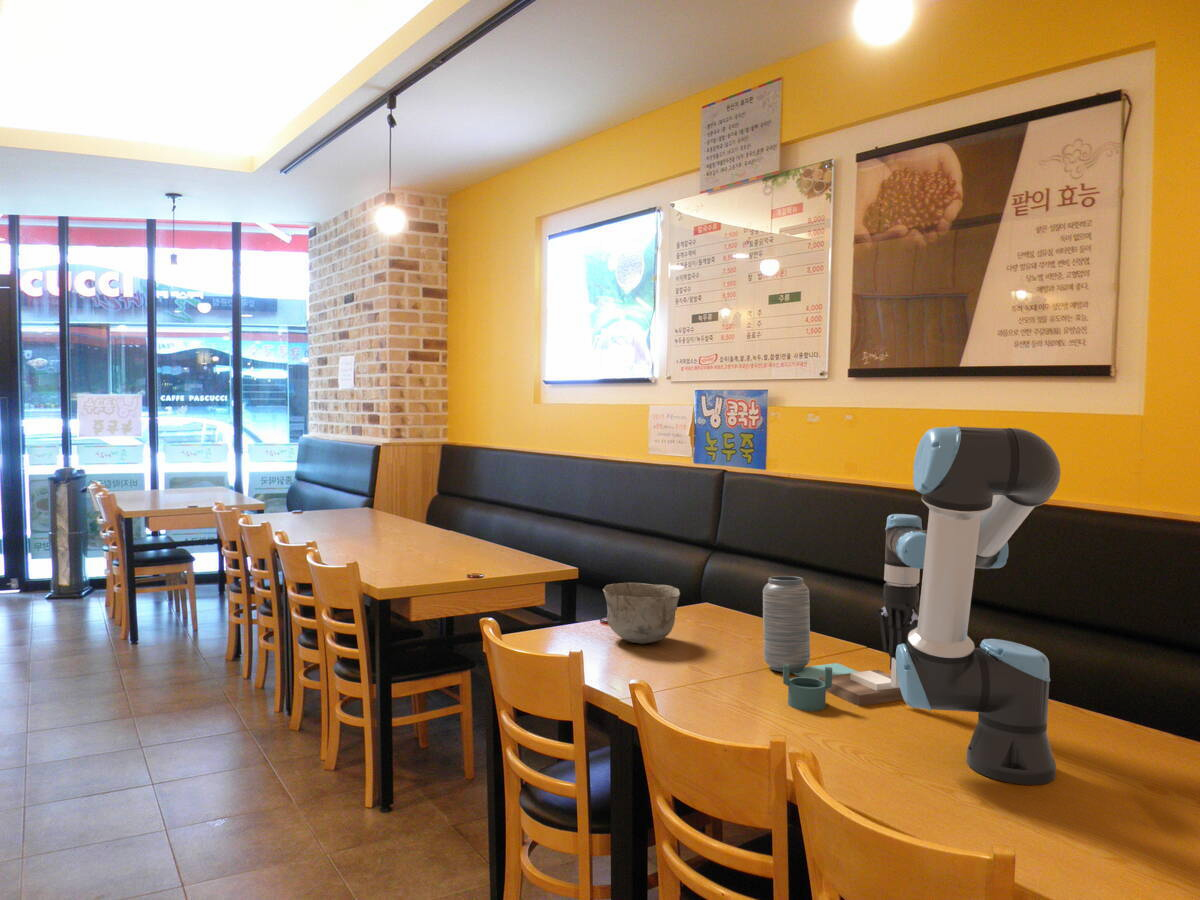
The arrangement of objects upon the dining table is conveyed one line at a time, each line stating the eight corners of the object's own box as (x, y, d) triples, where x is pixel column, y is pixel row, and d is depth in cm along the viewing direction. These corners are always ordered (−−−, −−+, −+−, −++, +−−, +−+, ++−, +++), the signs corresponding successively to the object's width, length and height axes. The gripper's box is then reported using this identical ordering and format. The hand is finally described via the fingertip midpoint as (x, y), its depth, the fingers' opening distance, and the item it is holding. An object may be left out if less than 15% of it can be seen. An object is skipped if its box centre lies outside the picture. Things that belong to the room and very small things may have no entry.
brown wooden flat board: (919, 696, 205) (919, 686, 205) (858, 706, 197) (859, 695, 197) (877, 679, 218) (877, 669, 218) (818, 687, 210) (819, 677, 210)
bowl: (607, 629, 261) (608, 579, 261) (680, 633, 258) (681, 583, 258) (596, 649, 240) (597, 595, 239) (676, 654, 237) (678, 599, 236)
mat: (874, 679, 217) (874, 678, 217) (822, 687, 211) (822, 685, 211) (836, 664, 230) (837, 663, 230) (786, 670, 223) (786, 669, 223)
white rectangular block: (897, 687, 203) (897, 681, 203) (876, 690, 201) (877, 684, 201) (870, 676, 211) (870, 670, 211) (850, 679, 209) (850, 673, 209)
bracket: (834, 707, 196) (836, 667, 196) (804, 713, 192) (805, 673, 192) (806, 696, 204) (807, 658, 204) (776, 701, 200) (777, 662, 199)
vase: (794, 661, 232) (793, 574, 232) (819, 671, 221) (818, 579, 221) (755, 665, 228) (754, 576, 228) (778, 675, 217) (777, 582, 217)
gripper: (936, 587, 193) (931, 693, 195) (893, 576, 205) (890, 676, 207) (909, 590, 190) (905, 697, 192) (868, 578, 202) (864, 679, 204)
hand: (897, 686), depth 199 cm, fingers closed
